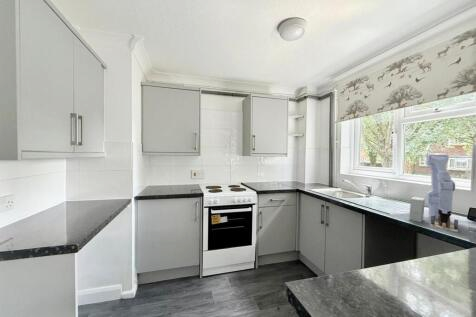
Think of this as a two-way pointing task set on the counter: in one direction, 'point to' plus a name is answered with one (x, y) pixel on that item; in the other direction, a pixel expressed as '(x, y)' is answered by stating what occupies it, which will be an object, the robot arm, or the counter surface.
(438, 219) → the brown small block
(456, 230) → the board
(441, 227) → the peg
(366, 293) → the counter surface
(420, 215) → the skincare box
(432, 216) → the wire gate
